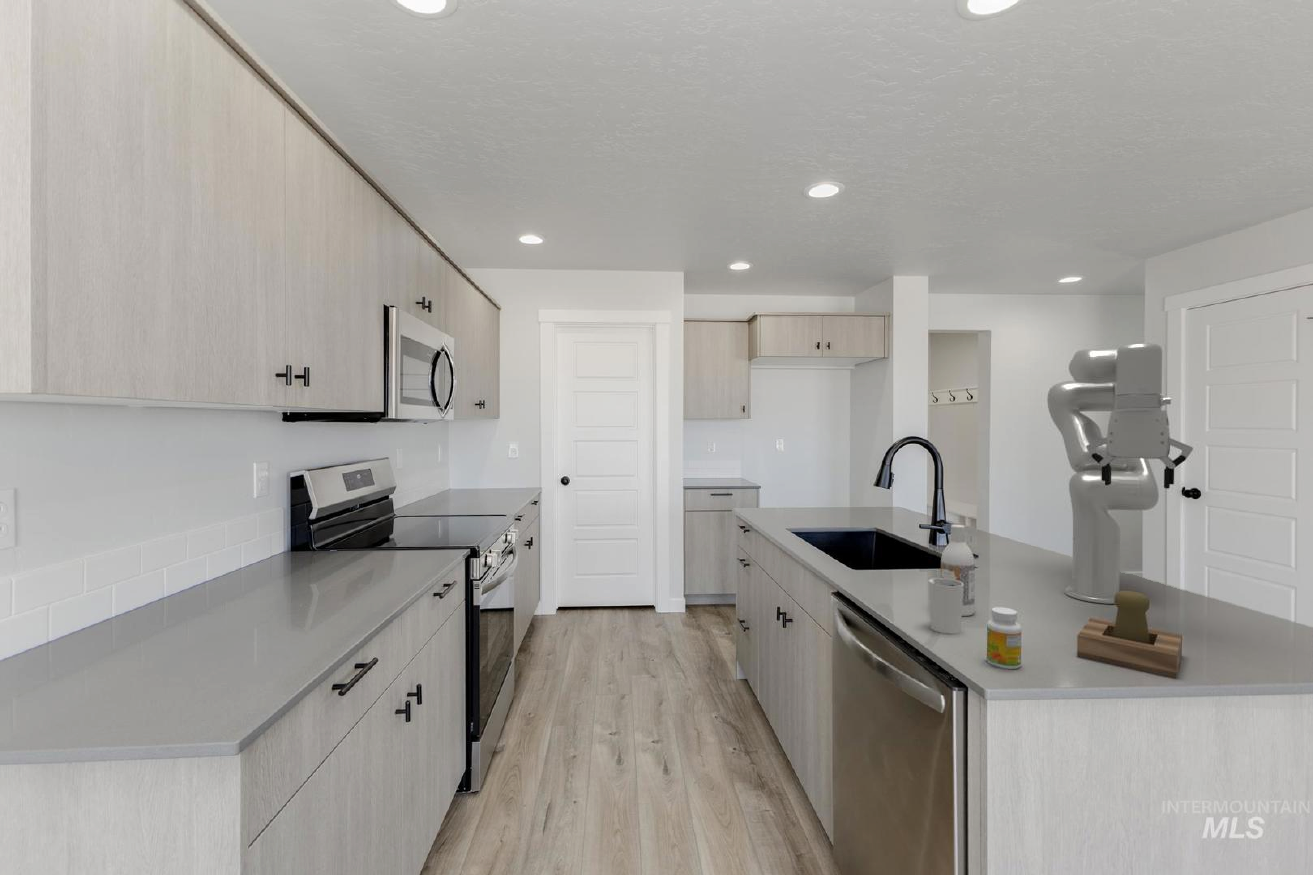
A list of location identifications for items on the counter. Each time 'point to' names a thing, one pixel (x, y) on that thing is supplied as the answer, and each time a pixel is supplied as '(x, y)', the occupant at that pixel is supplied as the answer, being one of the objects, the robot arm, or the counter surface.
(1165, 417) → the robot arm
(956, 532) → the bath foam
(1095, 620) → the socket block
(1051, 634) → the counter surface
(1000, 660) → the supplement bottle
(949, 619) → the white cylindrical cup
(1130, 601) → the olive brown peg
